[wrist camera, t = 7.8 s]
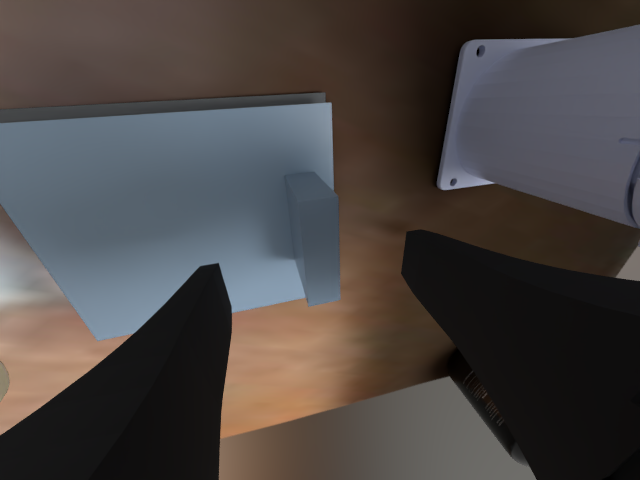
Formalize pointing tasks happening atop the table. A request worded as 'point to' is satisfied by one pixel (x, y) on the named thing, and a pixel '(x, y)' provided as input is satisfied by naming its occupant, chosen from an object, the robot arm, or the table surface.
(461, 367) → the supplement bottle
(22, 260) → the table surface
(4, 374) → the reusable coffee cup
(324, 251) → the lid
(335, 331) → the table surface
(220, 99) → the mat
